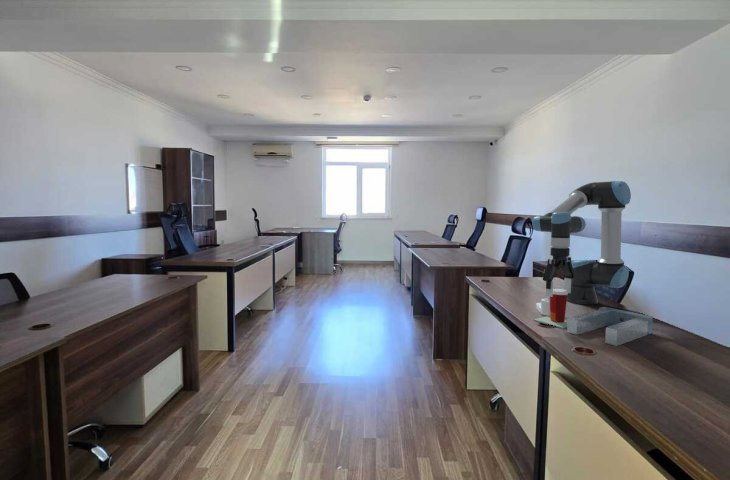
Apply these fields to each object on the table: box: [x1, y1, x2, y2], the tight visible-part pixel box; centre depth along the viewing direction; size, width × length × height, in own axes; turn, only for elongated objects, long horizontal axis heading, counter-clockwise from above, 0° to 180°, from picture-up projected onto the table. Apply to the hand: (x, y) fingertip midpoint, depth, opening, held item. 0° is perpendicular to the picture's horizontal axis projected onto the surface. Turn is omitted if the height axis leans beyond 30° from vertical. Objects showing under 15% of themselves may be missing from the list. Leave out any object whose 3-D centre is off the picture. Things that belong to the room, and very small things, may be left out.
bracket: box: [535, 298, 550, 317], centre depth 188 cm, size 20×9×7 cm, turn 165°
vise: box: [566, 306, 654, 347], centre depth 159 cm, size 37×19×7 cm, turn 121°
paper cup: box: [549, 288, 568, 323], centre depth 172 cm, size 8×8×14 cm
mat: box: [533, 315, 567, 330], centre depth 172 cm, size 14×14×1 cm
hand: (558, 294), depth 171 cm, fingers open, 13 cm apart
